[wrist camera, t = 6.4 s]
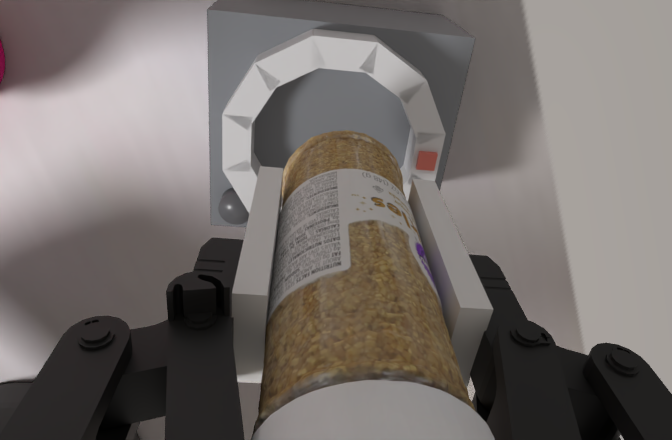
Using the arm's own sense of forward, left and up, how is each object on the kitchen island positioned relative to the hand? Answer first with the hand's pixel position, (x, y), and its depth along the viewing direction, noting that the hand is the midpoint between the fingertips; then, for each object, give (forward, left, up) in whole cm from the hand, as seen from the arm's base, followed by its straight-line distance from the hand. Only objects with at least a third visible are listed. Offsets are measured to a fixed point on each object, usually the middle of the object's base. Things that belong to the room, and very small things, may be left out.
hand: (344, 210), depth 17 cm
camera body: (0, 0, -13) cm, 13 cm away
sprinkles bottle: (0, 0, -2) cm, 2 cm away
